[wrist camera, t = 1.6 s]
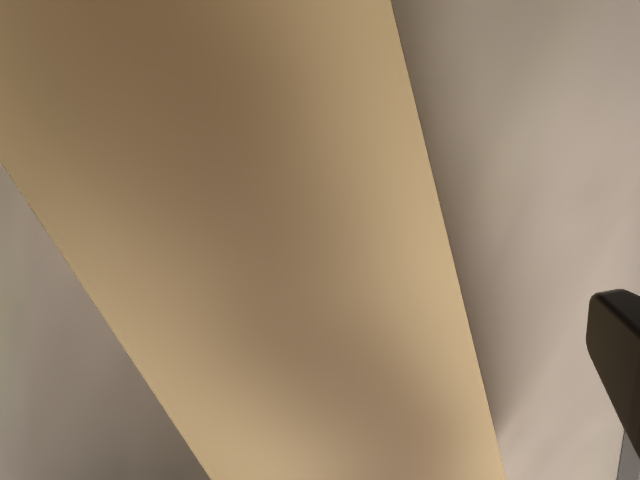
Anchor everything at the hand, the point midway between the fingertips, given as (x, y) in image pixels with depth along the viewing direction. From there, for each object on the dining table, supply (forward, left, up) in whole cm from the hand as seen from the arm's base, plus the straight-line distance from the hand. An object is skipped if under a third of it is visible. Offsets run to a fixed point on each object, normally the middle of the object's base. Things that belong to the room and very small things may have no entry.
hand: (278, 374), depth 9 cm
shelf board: (0, 0, -6) cm, 6 cm away
